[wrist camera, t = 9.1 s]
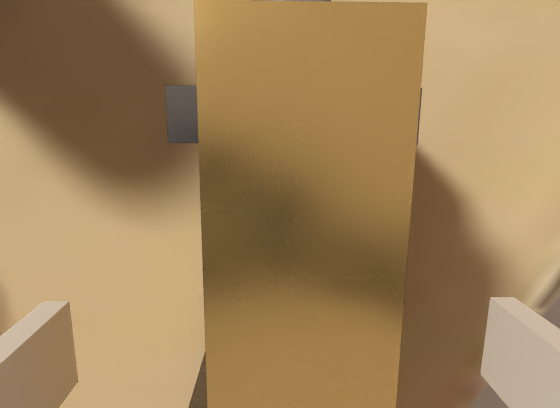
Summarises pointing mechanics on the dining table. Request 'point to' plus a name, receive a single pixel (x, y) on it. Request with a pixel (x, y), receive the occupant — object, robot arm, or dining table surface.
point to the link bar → (306, 197)
